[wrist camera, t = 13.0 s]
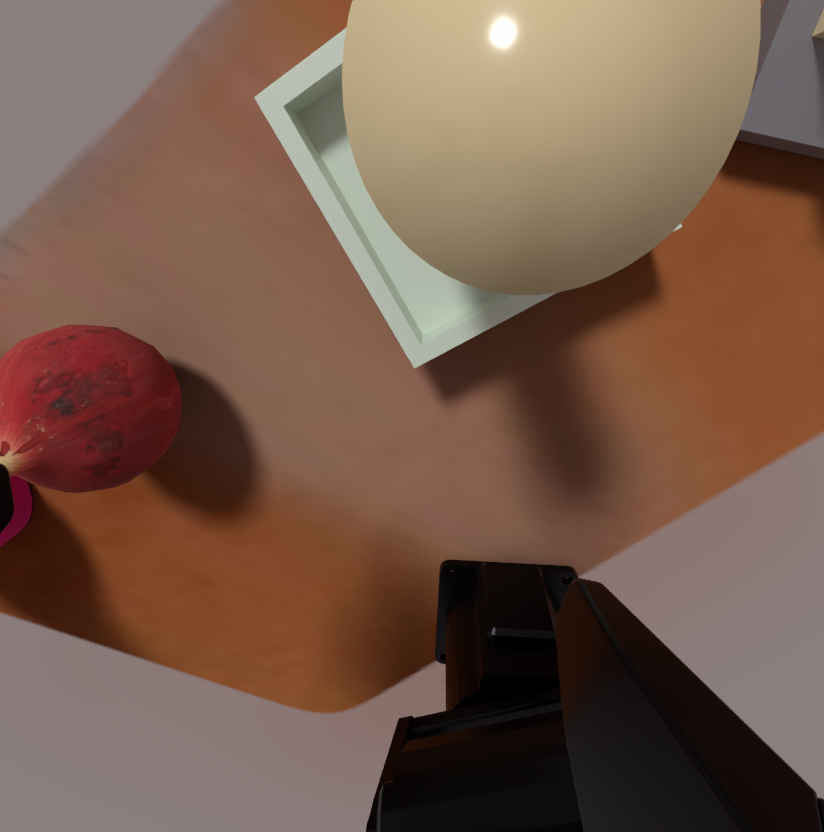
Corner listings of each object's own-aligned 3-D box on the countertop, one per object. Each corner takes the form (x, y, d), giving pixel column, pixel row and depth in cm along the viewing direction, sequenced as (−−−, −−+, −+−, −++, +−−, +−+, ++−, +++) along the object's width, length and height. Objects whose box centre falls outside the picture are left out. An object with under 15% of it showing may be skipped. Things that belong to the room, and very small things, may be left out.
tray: (644, 222, 18) (682, 226, 15) (418, 345, 20) (414, 368, 17) (536, -70, 15) (557, -132, 12) (285, 114, 17) (254, 97, 14)
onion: (142, 276, 19) (-42, 322, 12) (243, 389, 21) (137, 491, 14) (51, 358, 21) (-159, 443, 14) (152, 457, 23) (13, 581, 15)
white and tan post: (510, 238, 17) (659, 327, 5) (405, 215, 17) (319, 254, 5) (542, 116, 15) (849, -137, 4) (427, 90, 15) (377, -249, 4)
